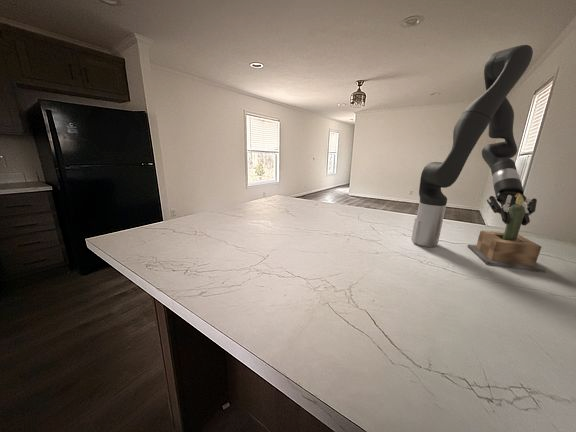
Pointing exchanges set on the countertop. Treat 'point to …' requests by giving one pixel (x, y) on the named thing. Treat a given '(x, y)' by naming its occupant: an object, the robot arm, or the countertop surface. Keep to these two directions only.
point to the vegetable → (514, 219)
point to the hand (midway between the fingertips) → (516, 223)
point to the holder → (507, 251)
